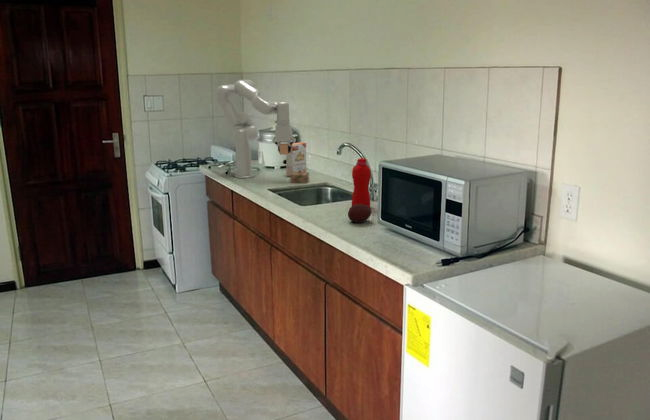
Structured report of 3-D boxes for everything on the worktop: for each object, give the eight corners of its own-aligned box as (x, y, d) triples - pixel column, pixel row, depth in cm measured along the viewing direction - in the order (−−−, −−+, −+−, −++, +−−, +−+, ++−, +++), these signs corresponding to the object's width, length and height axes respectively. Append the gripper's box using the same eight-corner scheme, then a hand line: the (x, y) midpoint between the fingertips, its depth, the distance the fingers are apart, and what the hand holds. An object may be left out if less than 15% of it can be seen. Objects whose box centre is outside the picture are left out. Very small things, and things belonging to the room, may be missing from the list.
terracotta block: (279, 154, 323) (279, 144, 321) (281, 153, 328) (280, 143, 326) (287, 154, 322) (287, 144, 321) (289, 153, 327) (288, 143, 326)
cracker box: (293, 177, 342) (292, 144, 336) (286, 176, 345) (285, 144, 340) (306, 174, 352) (306, 142, 347) (299, 172, 356) (299, 141, 351)
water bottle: (348, 205, 270) (348, 157, 264) (369, 205, 270) (370, 157, 264) (348, 210, 261) (348, 160, 255) (370, 210, 261) (371, 160, 255)
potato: (359, 217, 249) (359, 200, 247) (377, 222, 241) (377, 204, 239) (341, 221, 242) (342, 204, 240) (359, 227, 234) (360, 208, 232)
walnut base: (290, 183, 324) (290, 175, 323) (292, 179, 334) (292, 171, 333) (306, 183, 323) (306, 175, 322) (308, 180, 333) (308, 172, 332)
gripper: (268, 123, 318) (269, 153, 322) (296, 123, 316) (297, 153, 320) (270, 122, 325) (272, 151, 329) (298, 121, 323) (299, 151, 327)
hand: (284, 152), depth 325 cm, fingers closed on terracotta block, 5 cm apart
